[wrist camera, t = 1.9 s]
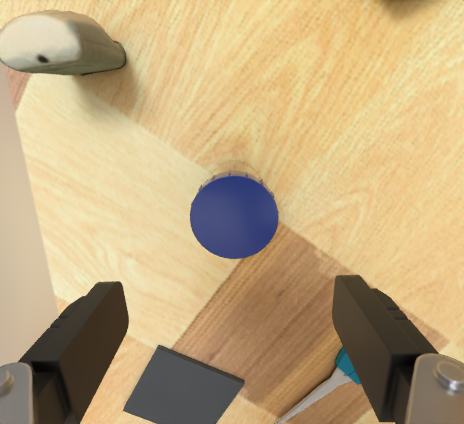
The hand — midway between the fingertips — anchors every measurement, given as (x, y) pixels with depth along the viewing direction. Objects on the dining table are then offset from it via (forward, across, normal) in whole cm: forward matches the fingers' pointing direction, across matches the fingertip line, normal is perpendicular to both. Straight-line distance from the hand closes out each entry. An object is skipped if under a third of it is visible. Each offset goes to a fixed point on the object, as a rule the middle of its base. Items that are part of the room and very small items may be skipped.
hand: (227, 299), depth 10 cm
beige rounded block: (+19, +12, -12) cm, 25 cm away
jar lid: (+9, 0, 0) cm, 9 cm away
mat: (+18, +8, +28) cm, 34 cm away
